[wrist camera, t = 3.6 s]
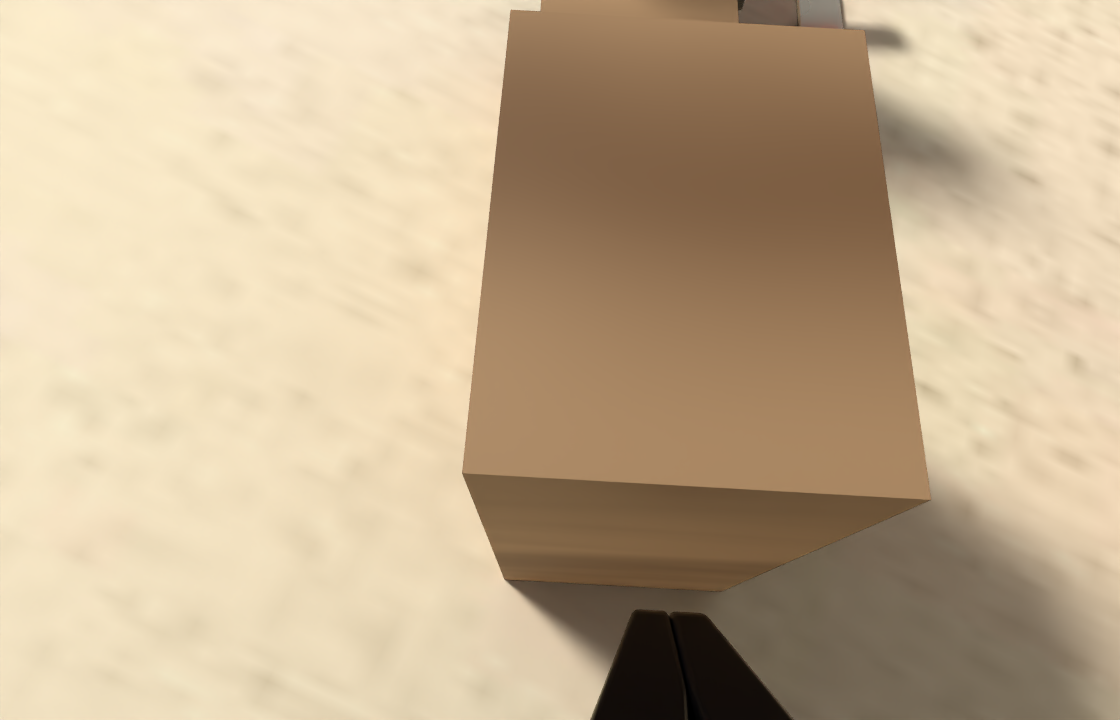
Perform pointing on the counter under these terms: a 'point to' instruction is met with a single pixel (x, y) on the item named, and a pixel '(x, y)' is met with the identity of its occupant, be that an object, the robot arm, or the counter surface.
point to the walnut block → (686, 301)
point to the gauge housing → (819, 13)
